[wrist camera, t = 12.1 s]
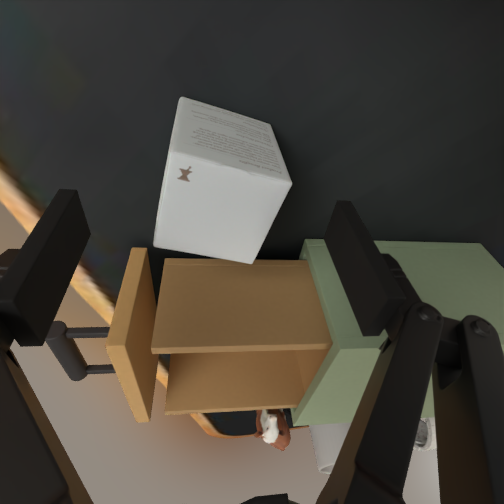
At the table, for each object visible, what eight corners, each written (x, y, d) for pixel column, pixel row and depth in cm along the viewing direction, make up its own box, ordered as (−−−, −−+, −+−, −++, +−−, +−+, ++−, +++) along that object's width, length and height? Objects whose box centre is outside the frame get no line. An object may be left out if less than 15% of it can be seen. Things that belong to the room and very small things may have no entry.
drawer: (95, 337, 34) (68, 426, 27) (55, 245, 24) (-1, 348, 18) (294, 333, 37) (311, 412, 31) (325, 251, 28) (359, 340, 21)
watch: (373, 382, 52) (401, 458, 44) (388, 359, 46) (423, 442, 39) (405, 379, 52) (439, 454, 45) (423, 356, 47) (466, 438, 39)
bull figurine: (274, 374, 47) (283, 435, 41) (286, 405, 56) (295, 458, 50) (246, 380, 47) (251, 440, 41) (263, 409, 56) (269, 462, 50)
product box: (163, 178, 22) (149, 248, 17) (180, 92, 18) (167, 147, 13) (244, 198, 24) (252, 267, 19) (274, 123, 20) (295, 183, 15)
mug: (298, 401, 55) (311, 468, 48) (350, 387, 53) (371, 455, 45) (316, 417, 62) (330, 478, 55) (363, 405, 60) (383, 467, 53)
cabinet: (276, 329, 38) (293, 426, 30) (304, 238, 28) (340, 349, 20) (410, 327, 40) (457, 415, 33) (480, 242, 30) (572, 342, 22)
